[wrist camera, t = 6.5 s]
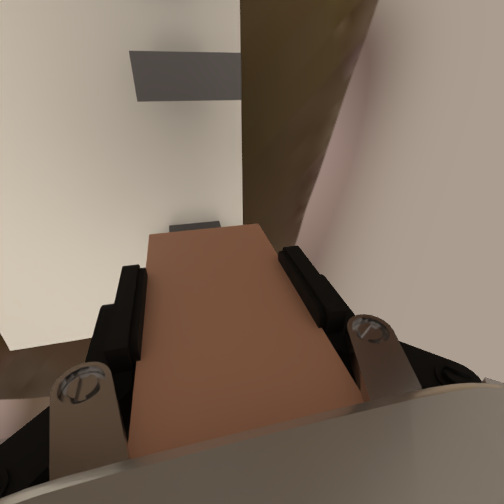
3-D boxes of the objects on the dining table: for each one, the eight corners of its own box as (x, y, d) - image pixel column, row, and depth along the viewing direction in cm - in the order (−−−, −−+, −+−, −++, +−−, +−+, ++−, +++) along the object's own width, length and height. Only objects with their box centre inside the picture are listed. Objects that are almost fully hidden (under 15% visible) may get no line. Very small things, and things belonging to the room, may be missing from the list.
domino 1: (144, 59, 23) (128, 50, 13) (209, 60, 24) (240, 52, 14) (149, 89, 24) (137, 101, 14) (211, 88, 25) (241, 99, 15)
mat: (-292, -212, 15) (-319, -229, 14) (234, -135, 20) (237, -144, 19) (14, 343, 34) (10, 350, 33) (242, 307, 39) (243, 312, 39)
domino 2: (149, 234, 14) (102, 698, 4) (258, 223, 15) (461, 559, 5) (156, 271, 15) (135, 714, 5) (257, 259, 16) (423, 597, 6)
